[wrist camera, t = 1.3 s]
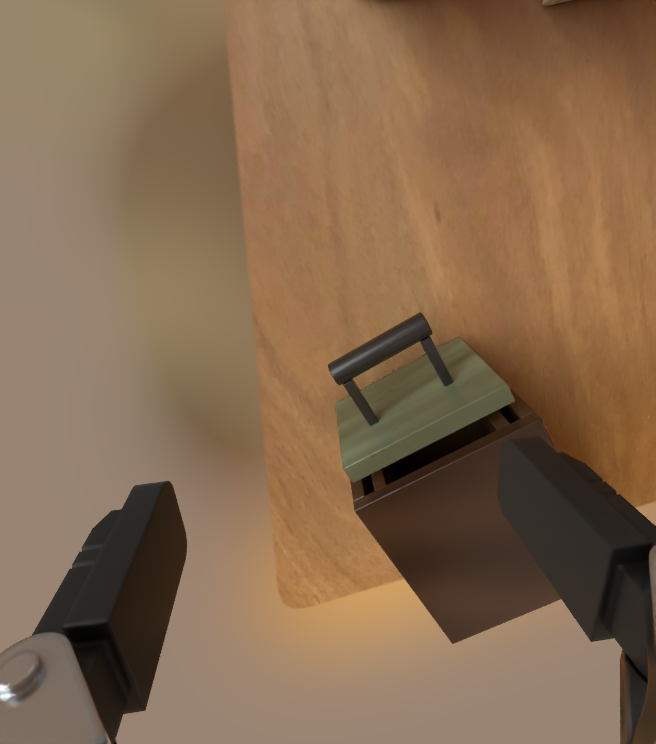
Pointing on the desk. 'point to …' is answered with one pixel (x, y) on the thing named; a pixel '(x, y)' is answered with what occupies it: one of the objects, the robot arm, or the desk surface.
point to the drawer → (414, 404)
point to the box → (553, 2)
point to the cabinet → (459, 534)
